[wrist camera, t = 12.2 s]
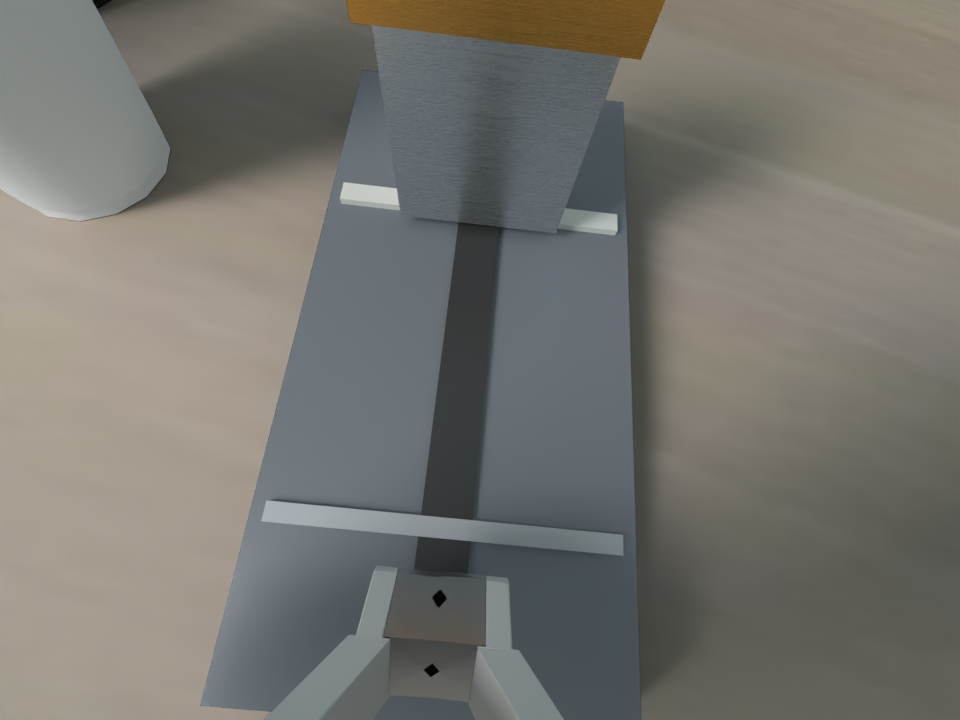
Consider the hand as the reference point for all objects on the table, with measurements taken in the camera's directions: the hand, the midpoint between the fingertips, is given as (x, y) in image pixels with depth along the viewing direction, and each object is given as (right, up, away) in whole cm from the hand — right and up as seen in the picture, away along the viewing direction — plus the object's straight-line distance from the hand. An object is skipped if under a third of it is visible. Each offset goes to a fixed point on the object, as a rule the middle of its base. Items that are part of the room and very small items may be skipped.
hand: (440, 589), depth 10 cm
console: (0, +6, +8) cm, 10 cm away
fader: (+1, +12, +8) cm, 14 cm away
